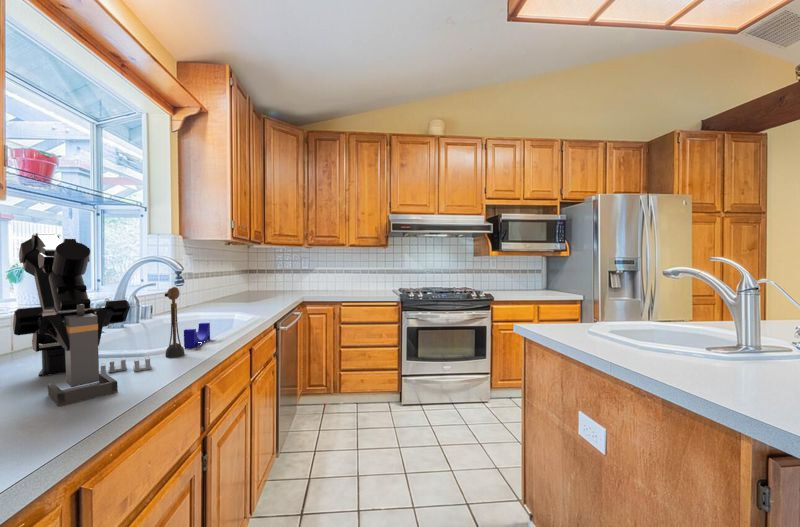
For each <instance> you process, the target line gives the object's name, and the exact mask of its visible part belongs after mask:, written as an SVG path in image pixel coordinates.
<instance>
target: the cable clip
mask: <svg viewBox="0 0 800 527" xmlns="http://www.w3.org/2000/svg"><path fill="white" fill-rule="evenodd" d="M207 340H208V341H210V340H211V322H200V323H198V329H196V328H186V329H183V346H184V347H185V348H189V349H195V348H197V347H199V346H201V345H202V344H201V343H198V342H202V343H203V344H205V343H204V341H207ZM208 341H207V342H208ZM200 344H201V345H200ZM184 347H183V348H184Z"/></svg>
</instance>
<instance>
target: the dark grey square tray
mask: <svg viewBox="0 0 800 527" xmlns="http://www.w3.org/2000/svg"><path fill="white" fill-rule="evenodd" d="M118 387H119V386H118V380H116V379H115V378H113V377H111V375H109V374H108V373H107V374H105V373H101V374H99V381H98V382H94V383H89V384H85V385H80V386H75V387H70V388H65V389H61V388H60V387H59V386H58V385H57V384H56V383H55V382H53V383H50V384H48V383H47V392H48V394H47V396H49V397H50V399H51V400H52V401H53V402H54V404H56V406H57V407H62V406H66V405H70V404H71V405H72V404H75V403H79V402H82V401H87V400H91V399H95V398H99V397H103V396H106V395H107V396H108V395H111V394H112V395H113V394H116V393H119V391H118ZM115 392H116V393H115Z"/></svg>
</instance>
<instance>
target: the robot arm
mask: <svg viewBox="0 0 800 527" xmlns="http://www.w3.org/2000/svg"><path fill="white" fill-rule="evenodd" d="M19 246H20V248H19V253H18V260H19V261H18V262H19V263H20V264H23V270H24V271H25V272H26V273H28V274H30V275H31V276H32V277H34V282H35V285H36V291H37V296H38V300H39V304H40V306H30V307H20V308H17V309H16V310H14V311H13V312H14V313H13V321H12V329H13V335H15V336H24V335H32V338H31V339H32V340H31V345H32V346H31V347H32V350H33V351H34V352H41V370H40V371H39V372H38V377H43V376H44V377H45V376H53V375H58V374H64V373H65V374H66V355H65V350H66V351H69V349H70V347H69V340H68V337H67V333H66V330H65V327H64V325H65V324H64V316H72V315H77V305H78V304H84V312H85V314H91V313H92V314H94V315H97V321H98V347H99V346H100V344H101V339H102V332H103V329H104V327H107V326H109V325H110V324H111V325H112V324H121V323H124V322H125V321H126V320H127V316H128V314H129V313H130V312H129V311H130V309H131V306H130V303H129V301H128V300H127V299H113V300H106V302H105V305H104V307H98V308H97V307H96V308H95V307H92V306H91V299H90V298H89V296H88V293H87V290H88V288H87V285H86V284H85V282H84V278H83V275H85V274H86V271H87V267H88V263H90V255H91V249H90V248H89V246H86V244H83V243H81V242H79V241H77V240H76V238H63V242H62V241H61V240H60V236H59V234H56V233H54V232H53V233H50V232H37V233H32V235H31V238H29V239H27V240H26V241H23V242H22V243H20V245H19Z"/></svg>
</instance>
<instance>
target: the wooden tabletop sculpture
mask: <svg viewBox="0 0 800 527" xmlns="http://www.w3.org/2000/svg"><path fill="white" fill-rule="evenodd" d="M164 297H165V298H166V297H167V298H168V299H169V300H171V303H170V319H171V320H170V322H171V323H170V337H169V344H168V347H167V348H166V350H165V358H169V359H172V358H179V357H183V356H185V349H184V347H183V346H182V343H181V340H180V334H179V333H180V332H179V327H178V326H179V325H178V303H177V302H176V300H178V298H179V297H180V290H179V288H178V287H176V286H170V287H169V288H168V289H167V292H165V293H164ZM177 341H178V343H177Z"/></svg>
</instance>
